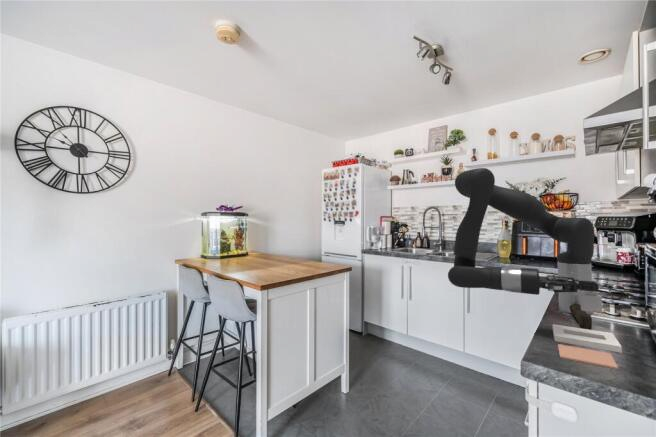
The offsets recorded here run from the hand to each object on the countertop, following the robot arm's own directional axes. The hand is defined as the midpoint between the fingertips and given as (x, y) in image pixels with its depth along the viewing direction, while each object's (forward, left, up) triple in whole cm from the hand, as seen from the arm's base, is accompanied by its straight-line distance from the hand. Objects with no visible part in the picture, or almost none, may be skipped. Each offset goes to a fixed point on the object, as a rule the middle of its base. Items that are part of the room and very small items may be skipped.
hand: (597, 286), depth 77 cm
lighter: (0, -3, -7) cm, 7 cm away
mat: (+12, -4, -15) cm, 20 cm away
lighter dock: (0, -3, -15) cm, 15 cm away
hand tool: (-16, -1, -15) cm, 22 cm away
